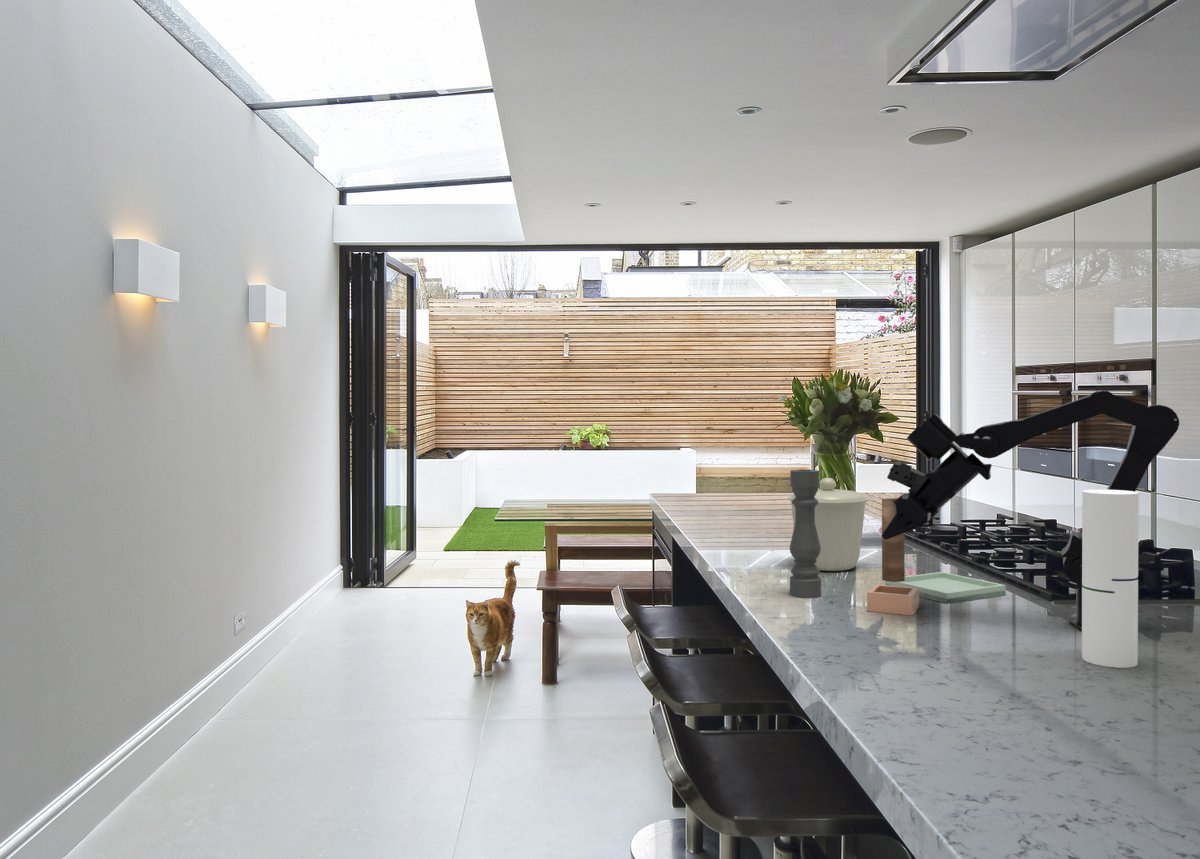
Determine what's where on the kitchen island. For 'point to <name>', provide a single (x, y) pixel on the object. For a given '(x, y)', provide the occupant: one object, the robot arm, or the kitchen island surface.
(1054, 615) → the kitchen island surface
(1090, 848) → the kitchen island surface
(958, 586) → the tray
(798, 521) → the candle holder
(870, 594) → the pink open box
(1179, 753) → the kitchen island surface
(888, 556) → the dowel pin
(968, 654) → the kitchen island surface
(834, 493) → the canister
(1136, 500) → the cylindrical container
